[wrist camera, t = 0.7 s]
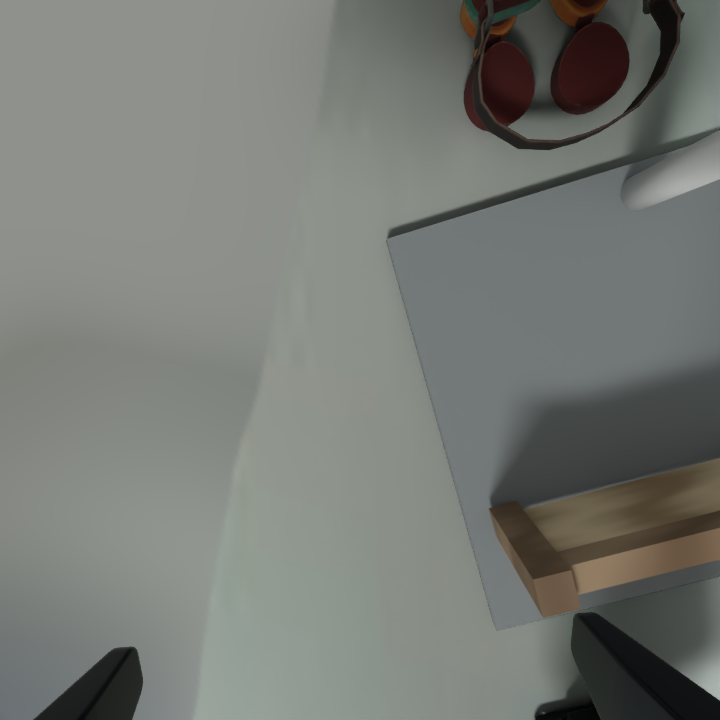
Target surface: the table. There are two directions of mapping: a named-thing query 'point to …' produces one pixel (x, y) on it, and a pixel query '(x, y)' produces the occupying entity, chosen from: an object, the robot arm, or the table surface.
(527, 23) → the table surface
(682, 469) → the wooden bar with ends
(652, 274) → the gate base
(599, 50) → the binoculars
